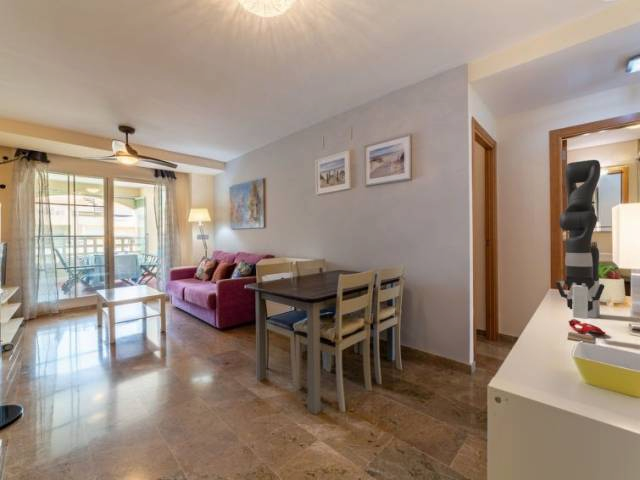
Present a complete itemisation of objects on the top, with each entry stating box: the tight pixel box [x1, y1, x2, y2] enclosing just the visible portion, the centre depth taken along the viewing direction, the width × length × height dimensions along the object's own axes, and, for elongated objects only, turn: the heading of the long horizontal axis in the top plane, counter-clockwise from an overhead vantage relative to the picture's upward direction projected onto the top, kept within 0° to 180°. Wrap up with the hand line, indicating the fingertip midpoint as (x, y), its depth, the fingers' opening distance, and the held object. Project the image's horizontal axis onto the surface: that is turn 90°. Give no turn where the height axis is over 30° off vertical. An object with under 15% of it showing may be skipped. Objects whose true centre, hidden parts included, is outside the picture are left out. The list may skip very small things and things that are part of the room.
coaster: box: [567, 331, 594, 344], centre depth 106 cm, size 9×7×1 cm
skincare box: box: [571, 285, 589, 320], centre depth 106 cm, size 6×4×12 cm
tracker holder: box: [567, 318, 606, 335], centre depth 112 cm, size 12×4×10 cm
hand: (579, 309), depth 106 cm, fingers closed on skincare box, 4 cm apart
